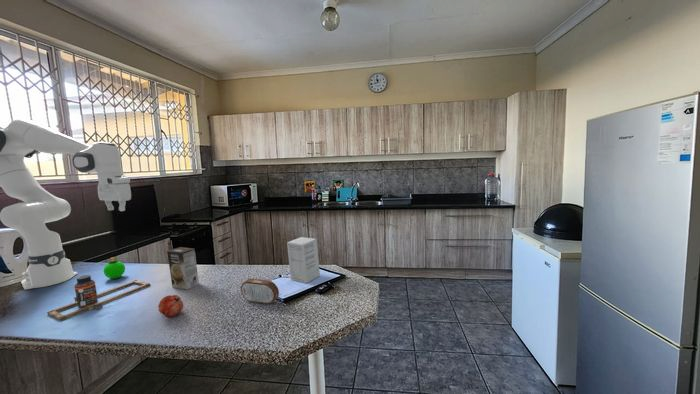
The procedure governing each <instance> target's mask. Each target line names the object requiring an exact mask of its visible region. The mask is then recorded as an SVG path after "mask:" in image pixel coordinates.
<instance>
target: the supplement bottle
mask: <svg viewBox="0 0 700 394" xmlns="http://www.w3.org/2000/svg"><path fill="white" fill-rule="evenodd" d="M74 291H75V297H76V298H77V304H78V305H77V307H78V308H79V309H82V308H84V307H87V306H90V305H92V304H95V303H97V302H99V299H98V298H99V297H98V298H97V294H98V292H97V287H96V282H95V280H94V279H92V277H91V274H87V275H86V274H85V275H84V274H83V275H81V276H78V277H77V278H76V284H75V285H74Z"/></svg>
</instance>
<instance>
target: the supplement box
mask: <svg viewBox="0 0 700 394" xmlns="http://www.w3.org/2000/svg"><path fill="white" fill-rule="evenodd" d="M286 245H287V256H288V265H289V275H290V276H289V277H290V281H294V282H300V283H304V284H308V283H309V282H311V281H313V280H314V279H317V278H318V277H320V276H321V273H320V261H319V250H318V240H317V238H311V237H303V236H300V237H297V238H296V239H292V240H290V241H287V243H286Z"/></svg>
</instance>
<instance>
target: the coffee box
mask: <svg viewBox="0 0 700 394" xmlns="http://www.w3.org/2000/svg"><path fill="white" fill-rule="evenodd" d="M166 253H167V259H168V266H169V273H170V279H171V286H172V288H175V289H183V290H190V289H191V288H193V287H196V286H197V285H199V284H200V283H199V282H200V281H199V275H198V266H197V265H198V264H197V259H196V258H197V257H196V251H195V248H193V247H191V248H190V247H183V246H180V247H176V248H173V249H170V250H167V252H166Z"/></svg>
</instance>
